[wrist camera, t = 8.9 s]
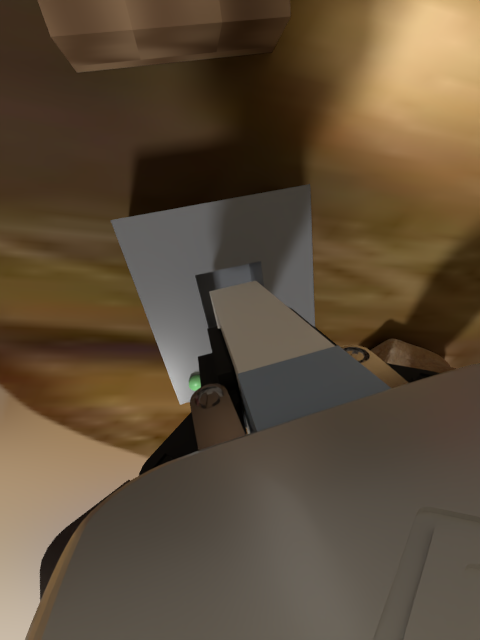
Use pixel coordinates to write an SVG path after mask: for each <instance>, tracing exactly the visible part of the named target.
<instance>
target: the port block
mask: <svg viewBox="0 0 480 640" xmlns="http://www.w3.org/2000/svg"><path fill="white" fill-rule="evenodd" d="M111 222H112V225H113V228H114V230H115V233H116V236H117V238H118V241H119V244H120V246H121V249H122V252H123V254H124V257H125V260H126V262H127V265H128V268H129V270H130V273H131V276H132V278H133V281H134V283H135V286H136V289H137V291H138V294H139V297H140V299H141V302H142V305H143V307H144V310H145V313H146V315H147V318H148V321H149V323H150V326H151V329H152V331H153V334H154V337H155V339H156V342H157V345H158V347H159V350H160V353H161V355H162V358H163V360H164V363H165V366H166V368H167V371H168V374H169V376H170V379H171V382H172V384H173V387H174V390H175V392H176V395H177V398H178V400H179V403H180V404H184V403H187V402H190V399H191V397H192V395H193V393H194V392H195V391H196V390H198V389H199V388H200V387H201V383H200V373H199V364H198V356H202V355H206V354H210V353H212V349H211V345H210V340H209V335H208V331H207V329H208V328H212V327H216V326H217V322H216V318H215V314H214V310H213V305H212V301H211V297H210V293H209V291H213V290H218V289H222V288H226V287H230V286H235V285H239V284H243V283H248V282H252V281H257V282H258V283H259V284H261V285H262V286H263V287H264V288H266V289H267V290H268V291H269V292H270V293H272V294H273V295H274V296H275V297H276V298H278V299H279V300H280V301H281V302H282V303H284V304H285V305H286V306H287V307H289V308H292V309H293V310H294V311H296V312H297V313H298V314H299V315H300V316H302V317H303V318H304V319H305V320H306V321H308V322H309V323H310V324H311V325H312V326H314V327H315V316H314V286H313V256H312V225H311V195H310V184H308V185H303V186H297V187H292V188H286V189H281V190H275V191H270V192H264V193H259V194H253V195H247V196H242V197H236V198H231V199H225V200H220V201H214V202H209V203H203V204H198V205H192V206H187V207H181V208H176V209H170V210H165V211H159V212H154V213H148V214H143V215H137V216H132V217H126V218H121V219H115V220H111ZM217 327H218V326H217Z"/></svg>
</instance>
